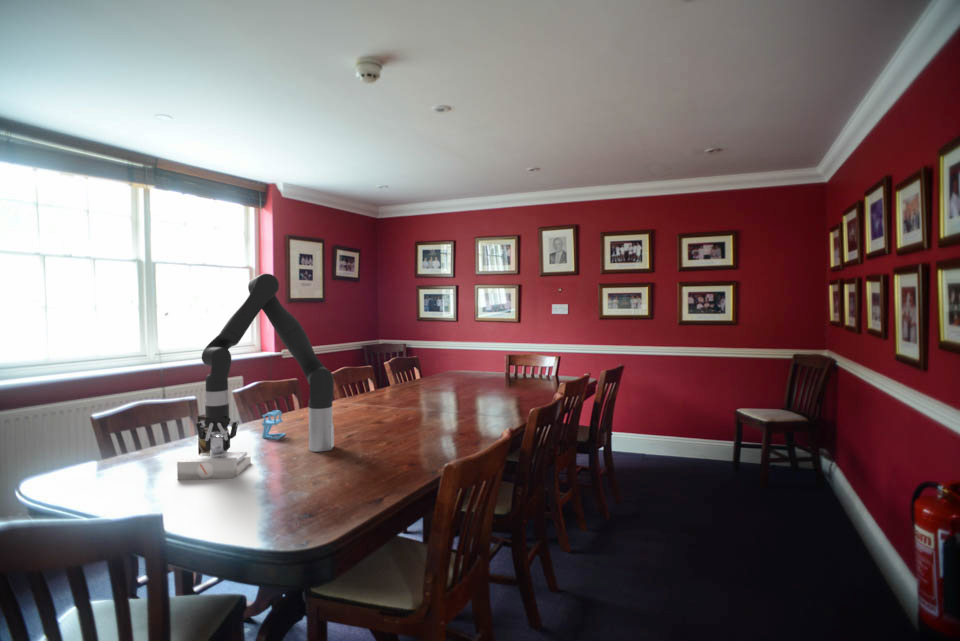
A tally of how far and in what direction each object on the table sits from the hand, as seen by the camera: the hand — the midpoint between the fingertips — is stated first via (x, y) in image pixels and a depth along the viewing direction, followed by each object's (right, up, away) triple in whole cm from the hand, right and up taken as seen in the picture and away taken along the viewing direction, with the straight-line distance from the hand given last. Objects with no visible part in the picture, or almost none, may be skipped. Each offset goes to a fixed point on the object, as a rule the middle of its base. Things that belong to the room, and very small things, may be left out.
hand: (218, 450), depth 177 cm
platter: (0, -4, 0) cm, 4 cm away
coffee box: (-9, -7, +14) cm, 18 cm away
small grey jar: (0, -1, 0) cm, 1 cm away
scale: (0, -7, -2) cm, 7 cm away
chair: (+2, -6, +43) cm, 43 cm away
